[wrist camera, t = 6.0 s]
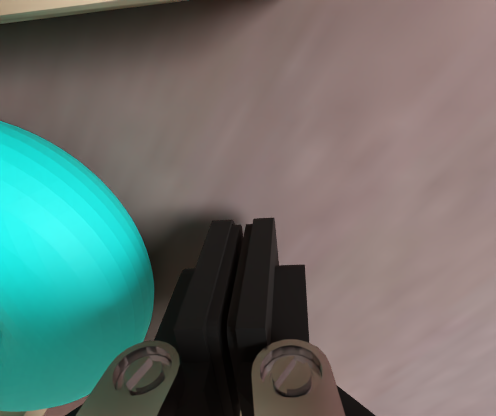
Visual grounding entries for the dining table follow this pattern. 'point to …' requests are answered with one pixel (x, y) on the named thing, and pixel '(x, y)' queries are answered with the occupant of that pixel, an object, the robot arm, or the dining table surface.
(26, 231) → the donuts
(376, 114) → the dining table surface
